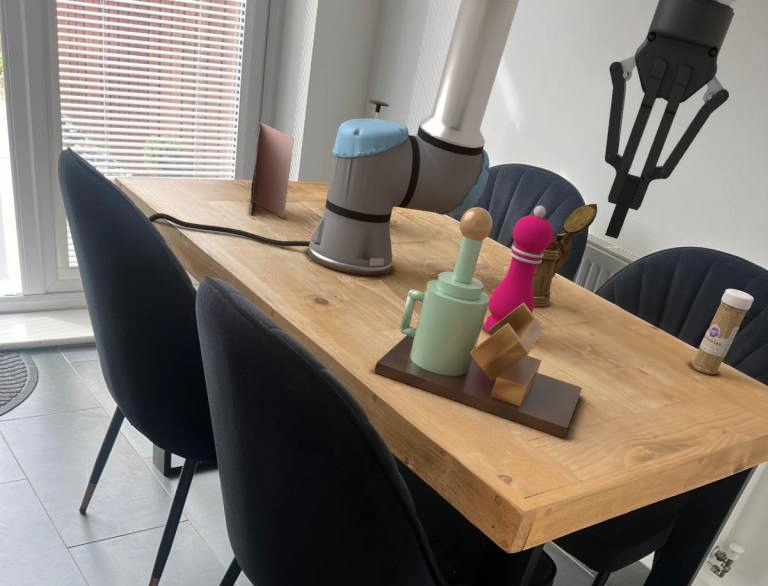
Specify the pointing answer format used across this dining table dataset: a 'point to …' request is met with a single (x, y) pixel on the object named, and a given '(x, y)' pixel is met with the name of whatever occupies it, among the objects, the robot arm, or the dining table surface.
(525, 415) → the walnut board
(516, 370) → the oak rest
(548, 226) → the pepper mill
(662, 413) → the dining table surface
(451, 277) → the jug
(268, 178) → the greeting card
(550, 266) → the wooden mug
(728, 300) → the sprinkles bottle
